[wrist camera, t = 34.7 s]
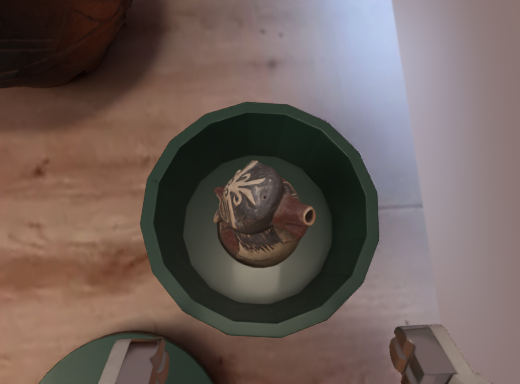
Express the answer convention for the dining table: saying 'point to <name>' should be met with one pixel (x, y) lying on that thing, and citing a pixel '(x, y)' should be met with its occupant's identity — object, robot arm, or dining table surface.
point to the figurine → (260, 217)
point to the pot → (207, 203)
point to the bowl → (55, 39)
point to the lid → (97, 353)
